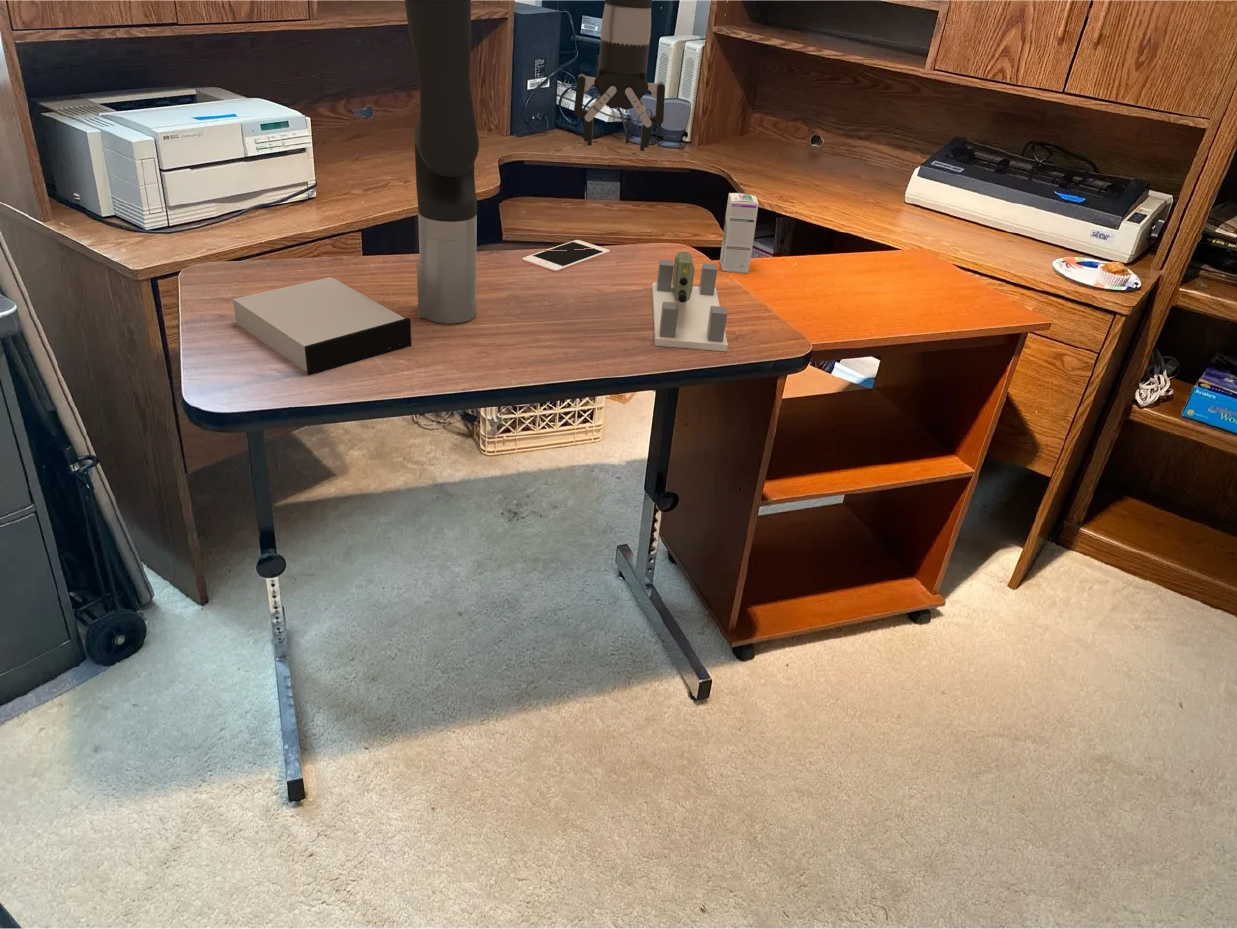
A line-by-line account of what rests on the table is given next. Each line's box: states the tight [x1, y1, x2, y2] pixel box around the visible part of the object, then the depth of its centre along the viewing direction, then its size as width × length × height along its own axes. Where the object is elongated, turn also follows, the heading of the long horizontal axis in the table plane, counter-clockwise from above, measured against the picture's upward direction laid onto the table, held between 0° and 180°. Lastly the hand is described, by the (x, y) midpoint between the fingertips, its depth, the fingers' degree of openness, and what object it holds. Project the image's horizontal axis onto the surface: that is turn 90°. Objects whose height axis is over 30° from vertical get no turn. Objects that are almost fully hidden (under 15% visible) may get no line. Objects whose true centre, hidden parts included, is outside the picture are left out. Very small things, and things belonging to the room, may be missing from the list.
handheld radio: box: [672, 251, 696, 303], centre depth 161 cm, size 7×3×25 cm
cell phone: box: [521, 239, 611, 273], centre depth 186 cm, size 9×18×1 cm, turn 144°
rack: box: [651, 258, 729, 352], centre depth 162 cm, size 12×26×6 cm, turn 179°
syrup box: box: [719, 192, 760, 274], centre depth 185 cm, size 6×6×14 cm
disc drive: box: [232, 276, 412, 376], centre depth 145 cm, size 18×22×5 cm
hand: (615, 147), depth 150 cm, fingers open, 8 cm apart
